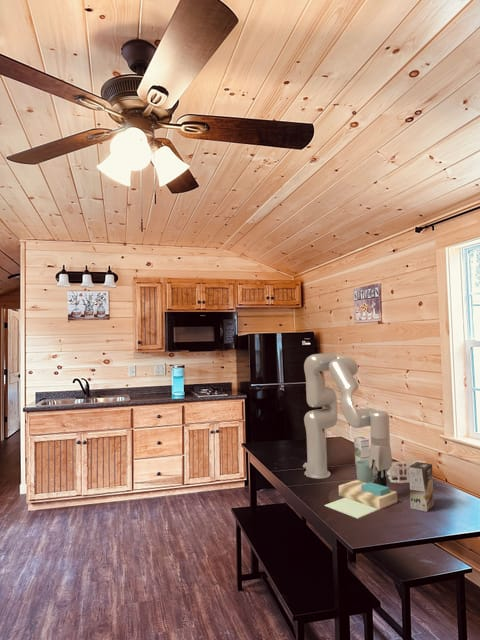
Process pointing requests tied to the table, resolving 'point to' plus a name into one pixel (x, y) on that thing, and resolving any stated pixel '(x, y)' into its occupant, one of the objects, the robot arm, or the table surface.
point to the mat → (351, 507)
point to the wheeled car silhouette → (395, 469)
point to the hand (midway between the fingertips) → (382, 486)
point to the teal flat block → (375, 489)
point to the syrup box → (361, 448)
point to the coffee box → (421, 486)
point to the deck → (366, 495)
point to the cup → (364, 471)
